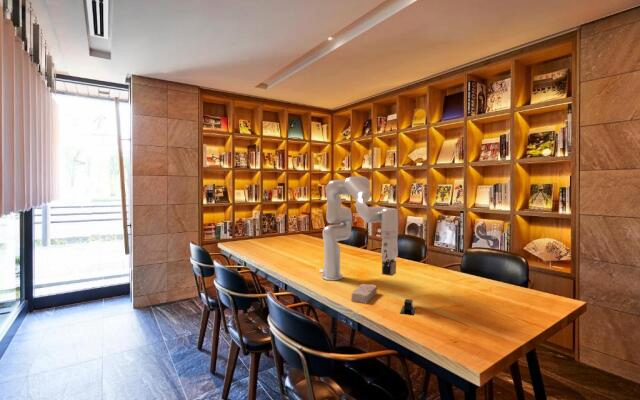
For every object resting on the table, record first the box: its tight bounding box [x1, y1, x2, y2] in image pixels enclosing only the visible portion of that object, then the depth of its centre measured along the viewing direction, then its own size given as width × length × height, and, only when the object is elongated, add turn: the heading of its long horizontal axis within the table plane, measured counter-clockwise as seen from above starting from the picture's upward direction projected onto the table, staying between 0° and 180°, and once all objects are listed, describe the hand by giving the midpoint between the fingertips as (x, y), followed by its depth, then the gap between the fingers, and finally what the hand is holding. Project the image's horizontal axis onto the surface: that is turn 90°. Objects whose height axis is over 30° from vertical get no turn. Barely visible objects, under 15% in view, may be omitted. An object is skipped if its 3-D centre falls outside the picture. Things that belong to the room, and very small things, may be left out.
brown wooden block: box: [381, 260, 397, 277], centre depth 155 cm, size 5×5×6 cm
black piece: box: [399, 298, 418, 316], centre depth 145 cm, size 13×8×5 cm, turn 157°
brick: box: [350, 283, 378, 304], centre depth 163 cm, size 16×8×5 cm, turn 153°
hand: (388, 272), depth 155 cm, fingers closed on brown wooden block, 5 cm apart
